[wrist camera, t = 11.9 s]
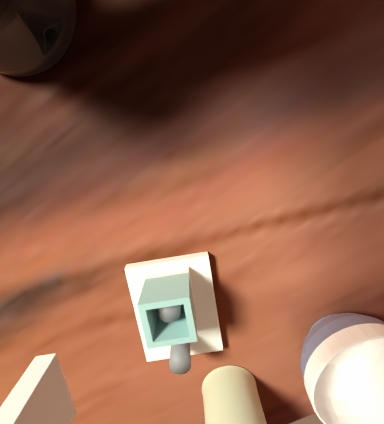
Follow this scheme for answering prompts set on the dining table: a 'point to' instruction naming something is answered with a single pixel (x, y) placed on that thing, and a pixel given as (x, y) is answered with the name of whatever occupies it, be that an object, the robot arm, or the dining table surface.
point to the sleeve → (164, 297)
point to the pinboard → (204, 309)
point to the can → (231, 397)
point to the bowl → (345, 368)
